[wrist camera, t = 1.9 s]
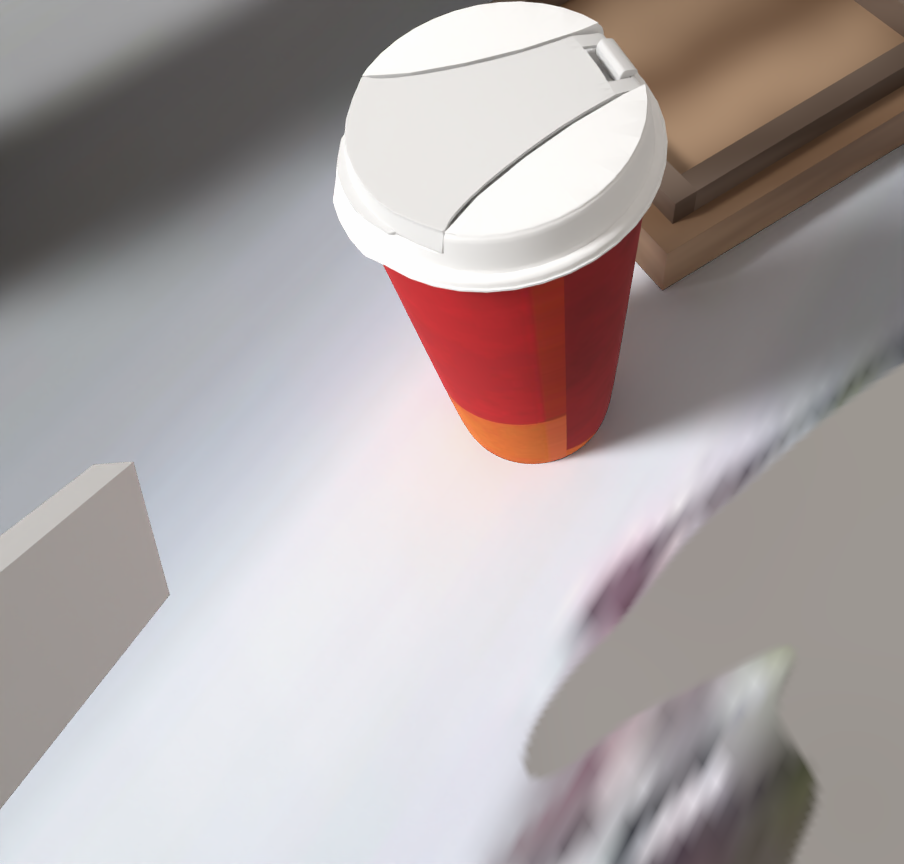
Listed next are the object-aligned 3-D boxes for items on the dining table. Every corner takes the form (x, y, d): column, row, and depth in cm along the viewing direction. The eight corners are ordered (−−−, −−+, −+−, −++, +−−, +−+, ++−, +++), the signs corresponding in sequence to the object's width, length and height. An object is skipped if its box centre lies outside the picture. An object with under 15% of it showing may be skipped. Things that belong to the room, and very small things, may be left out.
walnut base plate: (464, 71, 40) (452, 5, 37) (729, -80, 42) (741, -157, 38) (662, 290, 34) (669, 234, 30) (972, 101, 35) (1011, 28, 32)
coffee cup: (581, 277, 34) (572, -60, 21) (678, 438, 31) (744, 155, 17) (399, 358, 34) (272, 71, 21) (476, 529, 31) (383, 316, 17)
